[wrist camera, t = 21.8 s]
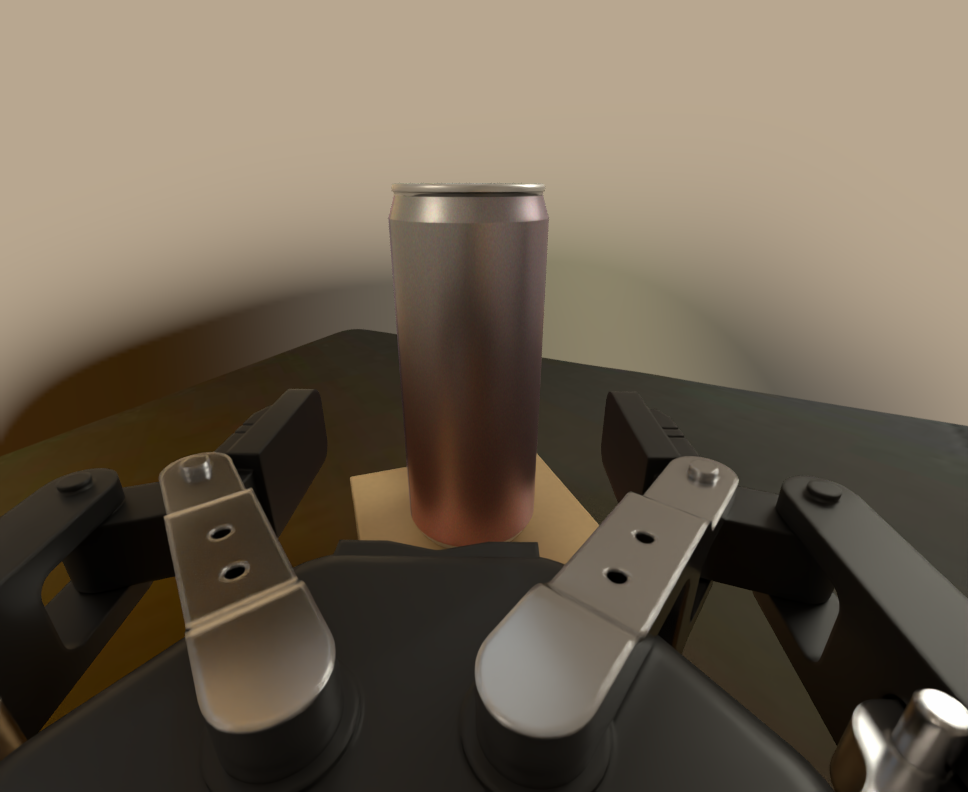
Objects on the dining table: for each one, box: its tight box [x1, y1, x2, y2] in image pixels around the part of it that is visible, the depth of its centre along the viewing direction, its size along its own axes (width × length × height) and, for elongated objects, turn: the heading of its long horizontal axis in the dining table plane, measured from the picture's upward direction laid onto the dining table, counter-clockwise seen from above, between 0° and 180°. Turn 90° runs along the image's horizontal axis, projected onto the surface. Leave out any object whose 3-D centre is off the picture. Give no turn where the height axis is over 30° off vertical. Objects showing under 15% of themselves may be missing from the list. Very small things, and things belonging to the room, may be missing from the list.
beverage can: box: [389, 183, 549, 549], centre depth 21 cm, size 6×6×15 cm
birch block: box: [350, 454, 599, 564], centre depth 25 cm, size 11×11×5 cm
